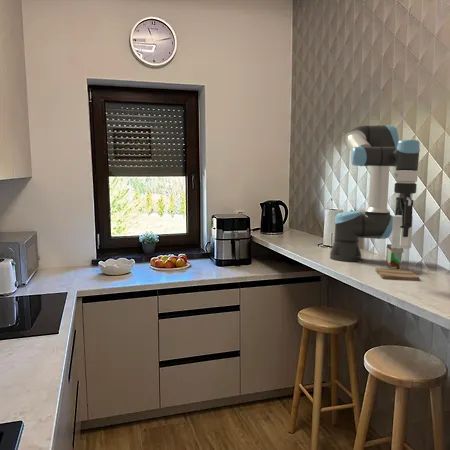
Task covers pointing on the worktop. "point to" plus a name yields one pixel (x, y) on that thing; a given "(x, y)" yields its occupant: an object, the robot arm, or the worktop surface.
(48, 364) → the worktop surface
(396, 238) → the skincare box
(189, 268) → the worktop surface
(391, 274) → the board
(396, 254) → the food container
